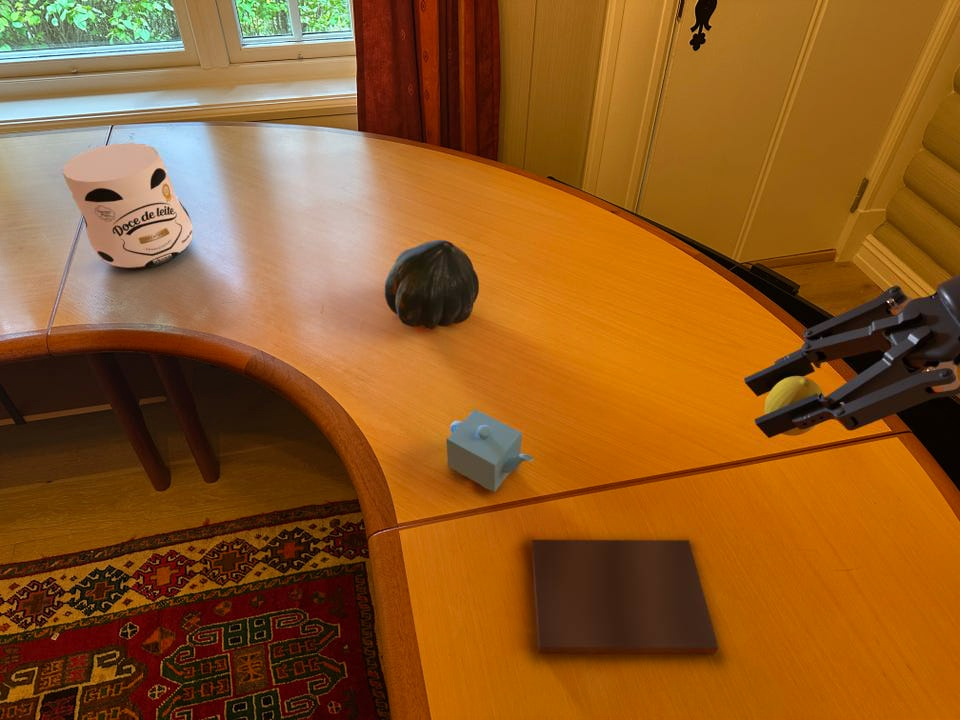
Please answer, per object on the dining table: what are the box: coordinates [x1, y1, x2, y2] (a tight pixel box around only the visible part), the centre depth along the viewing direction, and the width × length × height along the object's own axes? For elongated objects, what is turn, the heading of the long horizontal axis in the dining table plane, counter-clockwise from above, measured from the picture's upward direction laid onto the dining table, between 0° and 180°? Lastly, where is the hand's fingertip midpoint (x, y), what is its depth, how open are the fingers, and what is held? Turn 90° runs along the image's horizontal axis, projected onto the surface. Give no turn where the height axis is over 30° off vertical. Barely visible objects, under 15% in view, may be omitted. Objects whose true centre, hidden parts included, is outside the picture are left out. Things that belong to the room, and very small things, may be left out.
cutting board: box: [531, 539, 719, 655], centre depth 65 cm, size 18×12×2 cm, turn 90°
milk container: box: [62, 142, 194, 270], centre depth 110 cm, size 17×17×18 cm
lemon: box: [763, 376, 825, 437], centre depth 65 cm, size 6×6×8 cm
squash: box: [384, 239, 480, 330], centre depth 97 cm, size 14×15×15 cm
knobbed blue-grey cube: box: [445, 408, 534, 493], centre depth 76 cm, size 12×6×8 cm, turn 56°
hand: (756, 407), depth 66 cm, fingers closed on lemon, 5 cm apart
